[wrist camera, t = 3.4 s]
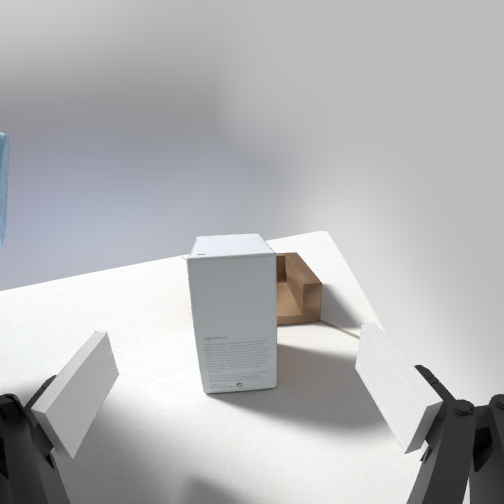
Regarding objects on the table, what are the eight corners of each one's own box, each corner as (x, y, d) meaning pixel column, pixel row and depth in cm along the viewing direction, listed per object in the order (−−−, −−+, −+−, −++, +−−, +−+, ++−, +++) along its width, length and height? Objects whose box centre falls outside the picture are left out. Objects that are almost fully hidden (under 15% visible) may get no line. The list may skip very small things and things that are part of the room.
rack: (208, 327, 30) (205, 288, 29) (217, 284, 44) (215, 255, 43) (319, 321, 31) (321, 282, 30) (296, 281, 44) (296, 252, 43)
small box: (277, 390, 20) (278, 252, 18) (202, 395, 19) (184, 257, 17) (262, 339, 28) (260, 232, 25) (205, 342, 27) (195, 235, 25)
